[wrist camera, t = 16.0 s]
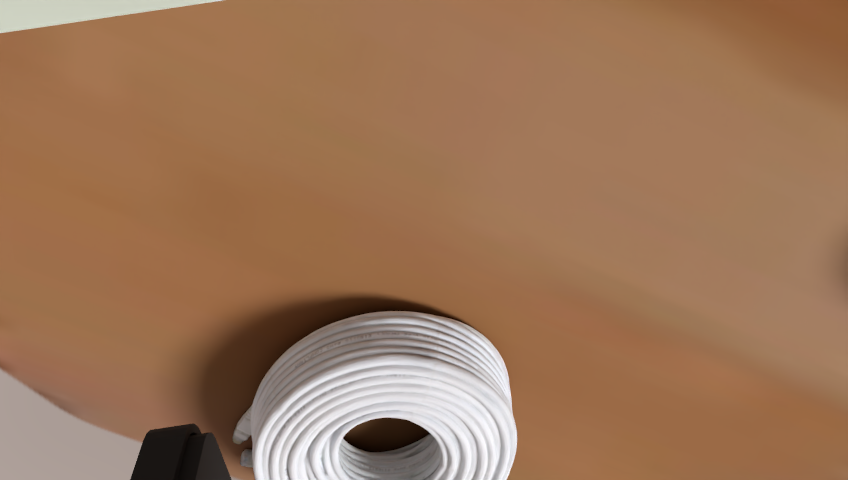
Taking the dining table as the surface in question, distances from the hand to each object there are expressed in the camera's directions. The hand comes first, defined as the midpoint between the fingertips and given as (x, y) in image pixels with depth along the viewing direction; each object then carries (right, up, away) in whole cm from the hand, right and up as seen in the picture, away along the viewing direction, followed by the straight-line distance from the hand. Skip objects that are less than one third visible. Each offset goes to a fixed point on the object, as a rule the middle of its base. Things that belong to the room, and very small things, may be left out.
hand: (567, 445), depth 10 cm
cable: (-5, -8, +41) cm, 42 cm away
